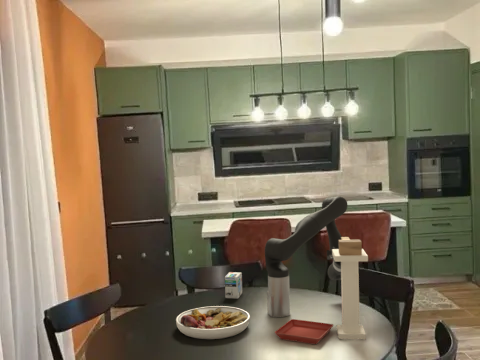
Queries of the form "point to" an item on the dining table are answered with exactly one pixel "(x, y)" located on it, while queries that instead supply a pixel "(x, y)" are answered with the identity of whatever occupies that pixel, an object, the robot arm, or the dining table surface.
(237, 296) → the light bulb box
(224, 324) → the bowl
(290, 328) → the plant saucer
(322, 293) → the dining table surface
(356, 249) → the beech mallet
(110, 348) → the dining table surface
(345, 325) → the tall stand
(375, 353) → the dining table surface
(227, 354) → the dining table surface
